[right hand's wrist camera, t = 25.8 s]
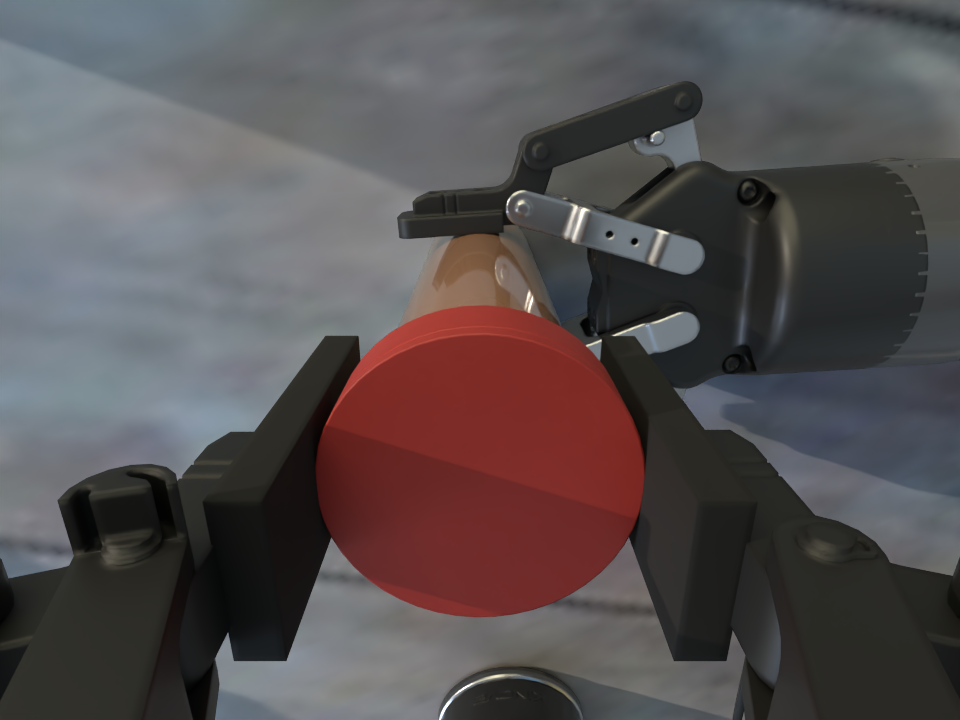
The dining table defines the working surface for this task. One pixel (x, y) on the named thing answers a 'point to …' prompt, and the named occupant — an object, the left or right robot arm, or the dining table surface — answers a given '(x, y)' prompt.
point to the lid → (480, 463)
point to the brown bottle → (481, 276)
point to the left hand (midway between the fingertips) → (410, 296)
